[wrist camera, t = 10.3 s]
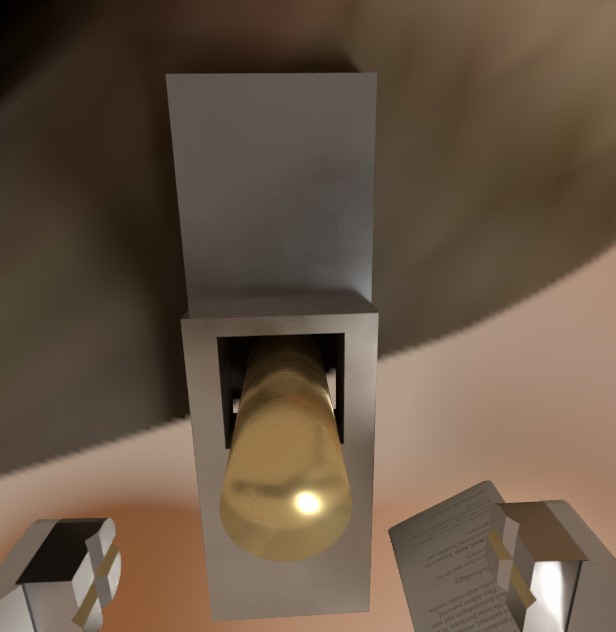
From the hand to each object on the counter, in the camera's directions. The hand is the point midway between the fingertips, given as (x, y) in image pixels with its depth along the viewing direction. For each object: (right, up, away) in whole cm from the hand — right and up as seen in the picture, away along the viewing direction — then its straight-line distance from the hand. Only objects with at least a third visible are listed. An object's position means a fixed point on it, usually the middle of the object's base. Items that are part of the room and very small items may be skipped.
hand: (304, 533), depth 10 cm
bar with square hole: (-1, +3, +10) cm, 10 cm away
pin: (-1, +3, +10) cm, 10 cm away
